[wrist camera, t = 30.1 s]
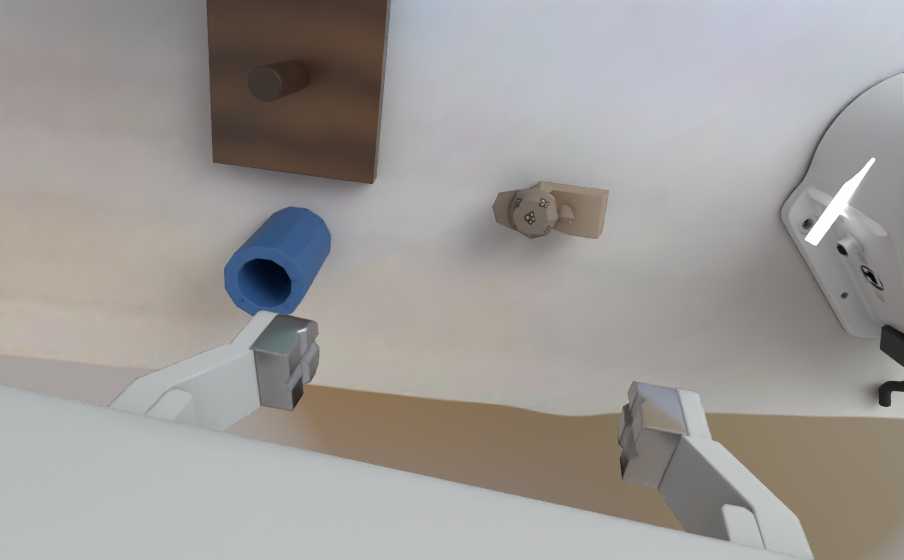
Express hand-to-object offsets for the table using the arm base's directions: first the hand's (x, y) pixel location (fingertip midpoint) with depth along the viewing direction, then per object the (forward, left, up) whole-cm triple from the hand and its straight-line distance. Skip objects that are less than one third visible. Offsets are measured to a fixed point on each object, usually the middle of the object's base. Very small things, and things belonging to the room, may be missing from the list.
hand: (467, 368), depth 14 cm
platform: (+10, +8, -31) cm, 34 cm away
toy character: (-7, -4, -31) cm, 33 cm away
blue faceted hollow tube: (-1, +15, -31) cm, 35 cm away
